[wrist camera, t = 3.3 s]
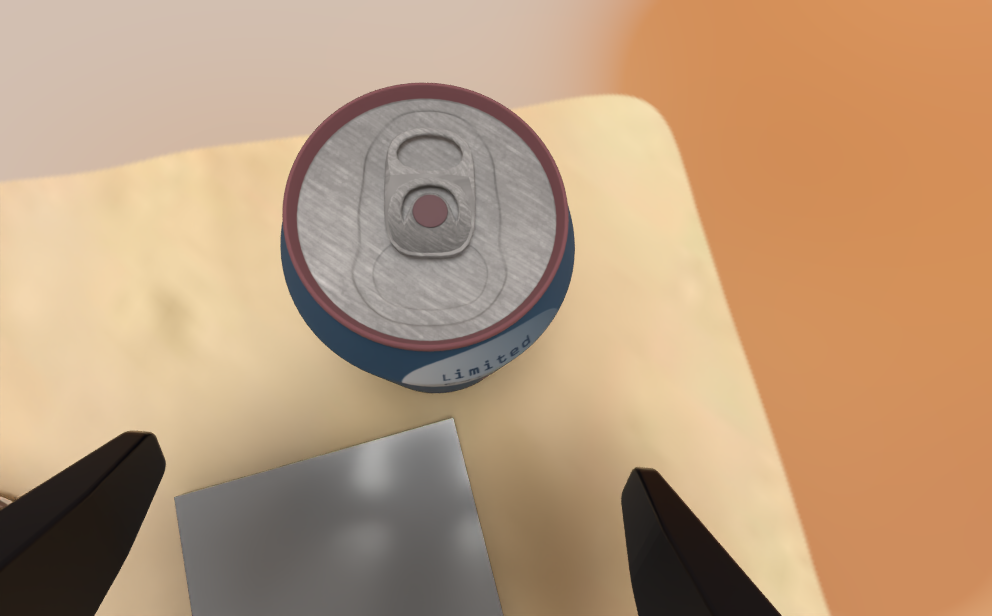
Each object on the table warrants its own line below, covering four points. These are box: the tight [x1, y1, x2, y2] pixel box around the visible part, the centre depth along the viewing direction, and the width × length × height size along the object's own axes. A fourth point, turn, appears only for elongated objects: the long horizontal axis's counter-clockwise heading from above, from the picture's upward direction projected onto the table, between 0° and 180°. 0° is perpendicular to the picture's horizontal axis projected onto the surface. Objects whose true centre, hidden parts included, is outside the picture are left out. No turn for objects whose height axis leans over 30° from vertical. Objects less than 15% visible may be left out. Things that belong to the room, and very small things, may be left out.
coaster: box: [174, 418, 503, 616], centre depth 18 cm, size 11×11×1 cm
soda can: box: [281, 83, 575, 393], centre depth 15 cm, size 7×7×12 cm
